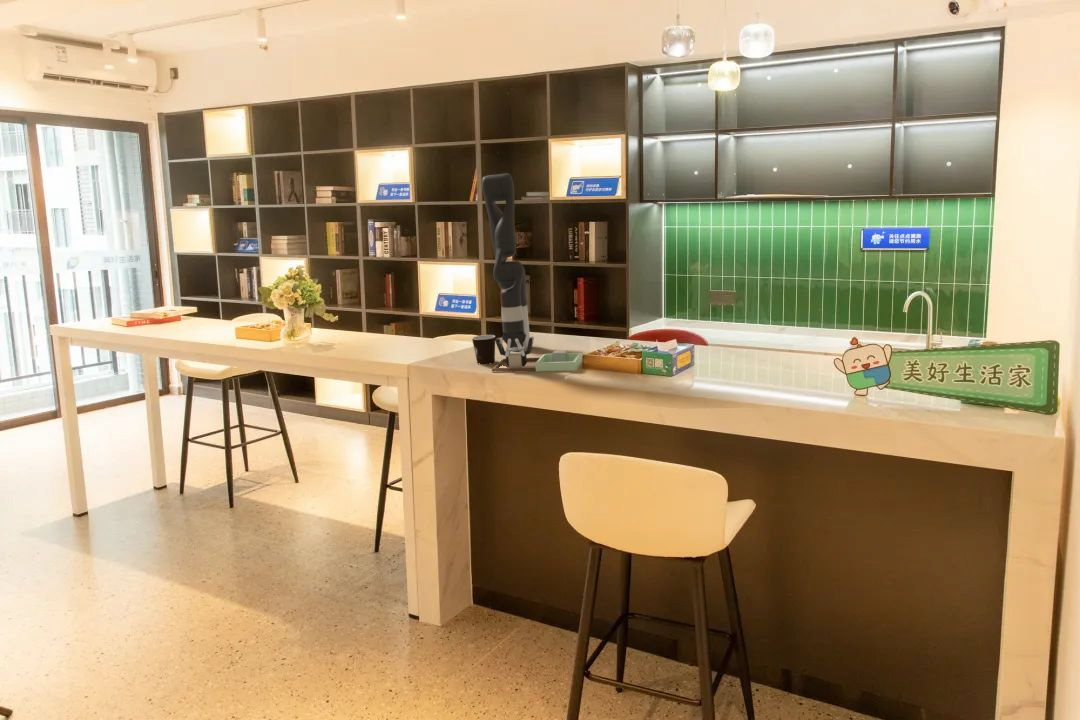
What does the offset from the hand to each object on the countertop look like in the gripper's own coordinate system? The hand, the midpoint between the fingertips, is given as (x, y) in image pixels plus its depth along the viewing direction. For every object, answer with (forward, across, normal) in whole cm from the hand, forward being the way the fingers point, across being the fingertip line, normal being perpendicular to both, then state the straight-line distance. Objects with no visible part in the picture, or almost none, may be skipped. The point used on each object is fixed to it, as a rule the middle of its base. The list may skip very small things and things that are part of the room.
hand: (516, 365), depth 293 cm
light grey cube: (0, 0, 0) cm, 0 cm away
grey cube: (+1, -15, -5) cm, 16 cm away
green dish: (+2, -15, -2) cm, 15 cm away
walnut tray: (+2, 0, -4) cm, 4 cm away
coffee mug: (+2, +15, -13) cm, 20 cm away
